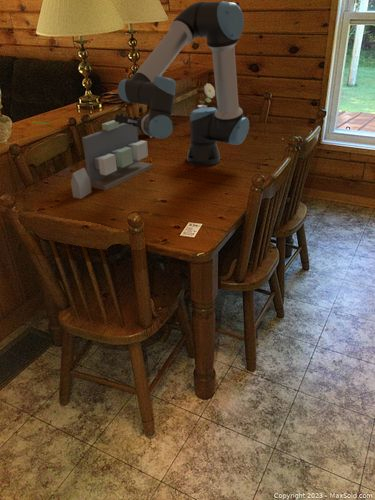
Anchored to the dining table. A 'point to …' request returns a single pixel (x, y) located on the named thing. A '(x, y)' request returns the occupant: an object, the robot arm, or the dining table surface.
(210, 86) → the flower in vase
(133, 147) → the key
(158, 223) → the dining table surface
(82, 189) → the grey upright block
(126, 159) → the key middle
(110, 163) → the key
